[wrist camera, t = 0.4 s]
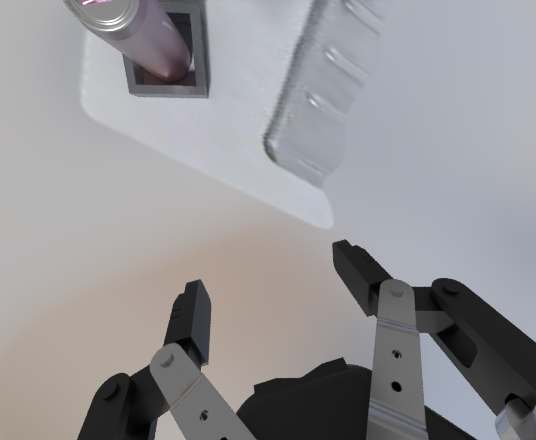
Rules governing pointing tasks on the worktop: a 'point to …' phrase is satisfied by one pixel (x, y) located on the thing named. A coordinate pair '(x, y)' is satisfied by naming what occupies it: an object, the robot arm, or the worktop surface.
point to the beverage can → (137, 33)
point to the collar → (193, 16)
